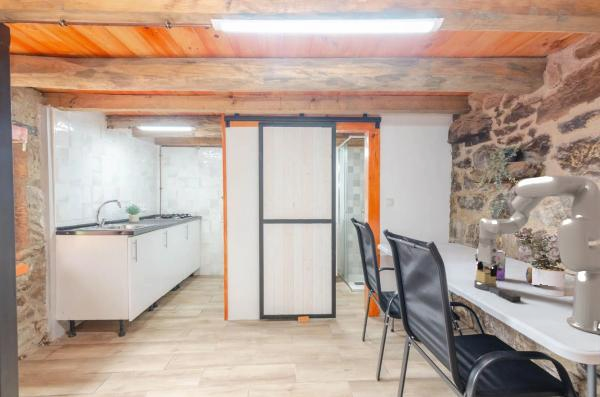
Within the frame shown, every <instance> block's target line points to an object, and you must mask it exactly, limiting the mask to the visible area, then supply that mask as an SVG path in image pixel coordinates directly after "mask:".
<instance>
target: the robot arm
mask: <svg viewBox="0 0 600 397" xmlns="http://www.w3.org/2000/svg"><path fill="white" fill-rule="evenodd" d="M514 191H515V194H516V195H517V196H515V197H514V199H513V200H511V206H512V208H513V209H514V210H515V211H514V213H513V214H512V215H511V216H510V218H493V217H492V218H491V217H482V218H480V220H479V232H478V233H479V238H478V239H479V240H478V241H479V242H478V246H477V249H478V254H477V253H476V254H474V257H475V264H476V263H477V270H480V269H483V264H482V263H483V262H484V263H487V264H490V266H491V268H492V269H490V276H491V277H496V276H497V269H498V267H499V265H500V263H501V262H500V261H499V260H498V250H499V249H498V245H497V235H508V234H509V235H511V234H516V233H517V232H518V231H520V230H521V229H522V228H523V227H524V226H526V224H528V222H529V218H530V215H531V212H532V211H533V210H534V209H535V208H536V207H537V206H539V204H540V203H541V202H542V201H544V199H546V197H547V198H548V197H570V198H573V199H572V202H571V214H572V215H571V217H567V218H564V219H562V220H561V221H560V222H559V224H558V226H557V230H556V231H557V232H556V233H557V243H558V252H559V257H560V262H561V263H562V265H563V266H564V267H565V268H566V269H567V270H569V271H571V272H574V273H575V276H574V281H573V282H574V283H573V297H572V315H571V316H570V317H567V318H566V323H567V324H568V325H569V326H571V327H573V328H576V329H577V330H580V331H584V332H587V333H592V334H595V335H600V245H593V244H590V242H591V243H592V242H597V241H600V188H599V186H598V184H597V183H596V182H595V181H593V180H592V179H590V178H587V177H584V176H578V175H561V174H560V175H558V174H557V175H556V174H555V175H553V174H552V175H545V176H538V177H537V176H536V177H528V178H523V179H521V180H519V181H518V182H517V183H516V185H515V188H514ZM589 244H590V245H589ZM476 261H477V262H476ZM493 265H494V266H493Z"/></svg>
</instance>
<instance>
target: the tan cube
mask: <svg viewBox="0 0 600 397" xmlns="http://www.w3.org/2000/svg"><path fill="white" fill-rule="evenodd" d="M475 273H476V275H475V280H476V281H478V282H480V283H482V284H497V279H496V277H491V276H490V270H488V269H480V270H476V269H475Z"/></svg>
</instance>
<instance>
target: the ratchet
mask: <svg viewBox="0 0 600 397" xmlns="http://www.w3.org/2000/svg"><path fill="white" fill-rule="evenodd" d="M474 288H476V289H477V290H481V291H486V292H489V291H490V292H489V293H492V294H493V293H494V295H495V294H496V296H498V297H500V298H502V299H504V300H505V299H506V301H508V302H510V303H521V298H522V297H521V296H520V295H519V294H516V293H514V292H512V291H510V290H506V289H503V288H500V287H499V286H498V285H497V283H496V284H482V283H480V282H478V281H476V279H474Z"/></svg>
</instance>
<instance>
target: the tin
mask: <svg viewBox="0 0 600 397" xmlns="http://www.w3.org/2000/svg"><path fill="white" fill-rule="evenodd" d="M532 268H533V267H528V268H527V269H526V272H525V277H526V282H528V283H529V284H530V285H532V284H531V283H532Z"/></svg>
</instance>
